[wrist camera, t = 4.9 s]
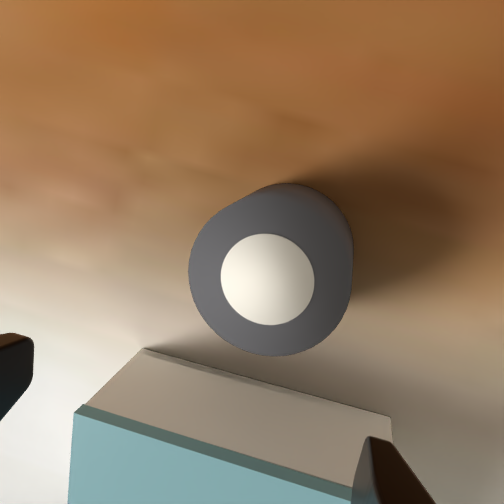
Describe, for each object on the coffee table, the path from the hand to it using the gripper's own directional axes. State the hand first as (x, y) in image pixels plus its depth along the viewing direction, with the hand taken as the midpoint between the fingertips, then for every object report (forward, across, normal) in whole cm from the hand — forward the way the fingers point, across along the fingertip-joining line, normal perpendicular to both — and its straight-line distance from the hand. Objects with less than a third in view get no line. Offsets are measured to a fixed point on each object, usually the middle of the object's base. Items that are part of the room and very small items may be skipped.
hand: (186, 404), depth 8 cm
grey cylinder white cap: (+12, 0, 0) cm, 12 cm away
